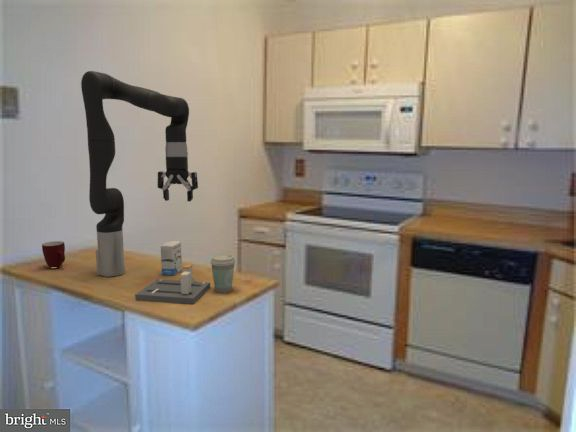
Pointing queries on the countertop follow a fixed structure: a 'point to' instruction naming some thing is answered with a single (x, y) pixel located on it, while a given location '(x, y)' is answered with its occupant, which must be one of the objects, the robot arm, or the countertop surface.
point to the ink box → (171, 258)
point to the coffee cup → (223, 272)
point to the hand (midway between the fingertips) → (178, 200)
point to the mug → (54, 253)
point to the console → (172, 292)
